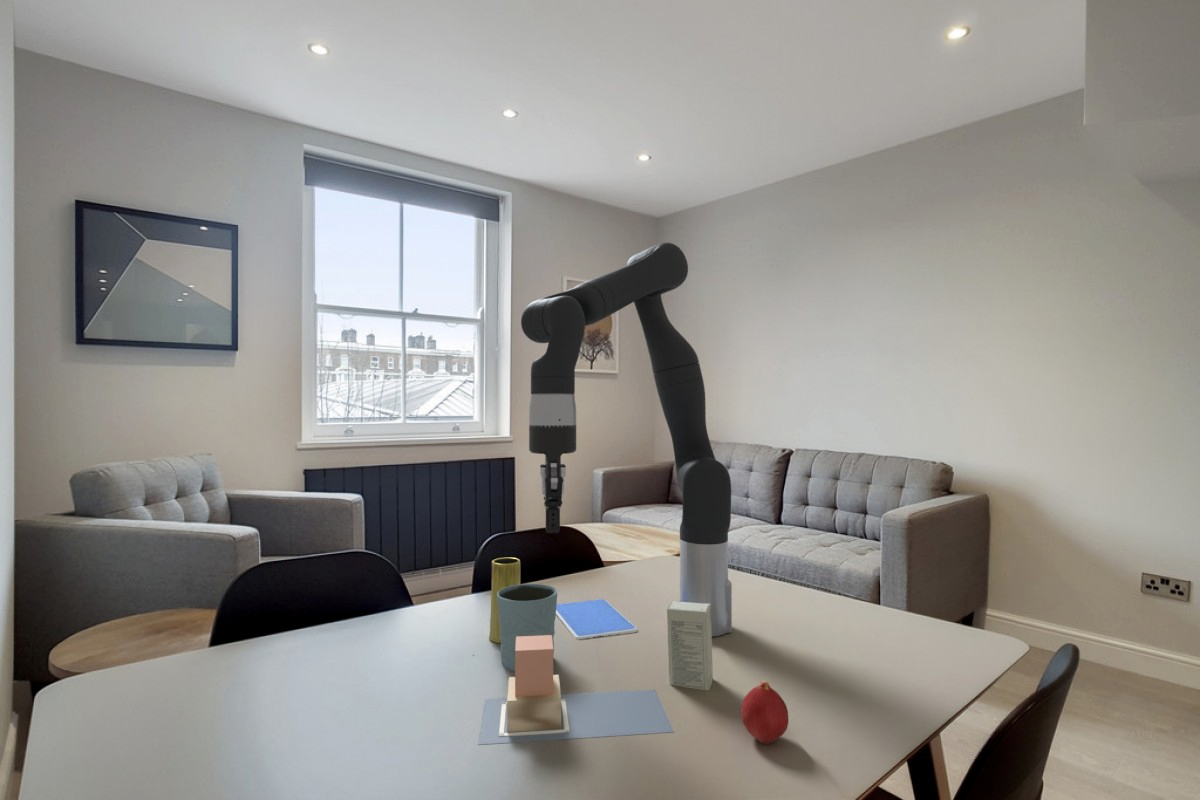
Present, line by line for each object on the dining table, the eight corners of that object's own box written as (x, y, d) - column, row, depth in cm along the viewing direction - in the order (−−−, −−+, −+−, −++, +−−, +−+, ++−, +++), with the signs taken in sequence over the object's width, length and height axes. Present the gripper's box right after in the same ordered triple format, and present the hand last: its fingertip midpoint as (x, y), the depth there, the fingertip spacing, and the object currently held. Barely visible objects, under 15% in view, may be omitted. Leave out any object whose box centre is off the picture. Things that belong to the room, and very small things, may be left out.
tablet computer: (639, 635, 114) (639, 628, 114) (576, 643, 110) (576, 636, 110) (604, 604, 133) (604, 598, 133) (549, 610, 128) (549, 604, 129)
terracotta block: (551, 677, 84) (551, 635, 84) (553, 694, 79) (553, 649, 79) (515, 679, 84) (516, 636, 84) (515, 696, 79) (515, 650, 79)
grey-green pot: (507, 681, 93) (508, 604, 94) (488, 658, 102) (488, 587, 103) (567, 669, 98) (567, 595, 98) (543, 647, 107) (544, 579, 107)
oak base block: (558, 702, 85) (558, 674, 85) (561, 728, 78) (561, 697, 78) (508, 705, 84) (508, 677, 85) (507, 732, 78) (507, 700, 78)
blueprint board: (654, 693, 89) (654, 688, 89) (674, 736, 78) (674, 731, 78) (485, 702, 87) (485, 698, 87) (477, 749, 75) (477, 743, 75)
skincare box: (713, 682, 93) (713, 603, 93) (709, 694, 89) (708, 612, 89) (672, 676, 95) (672, 599, 95) (666, 688, 91) (666, 607, 91)
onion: (735, 732, 78) (734, 671, 79) (778, 730, 79) (777, 669, 79) (750, 758, 73) (749, 691, 73) (796, 755, 73) (795, 689, 73)
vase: (525, 632, 114) (525, 557, 115) (518, 644, 108) (518, 565, 109) (494, 631, 115) (494, 556, 115) (485, 643, 109) (485, 564, 109)
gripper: (579, 423, 89) (579, 540, 89) (573, 422, 102) (573, 523, 102) (529, 423, 88) (528, 541, 88) (529, 422, 102) (528, 524, 101)
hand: (552, 531), depth 95 cm, fingers closed
